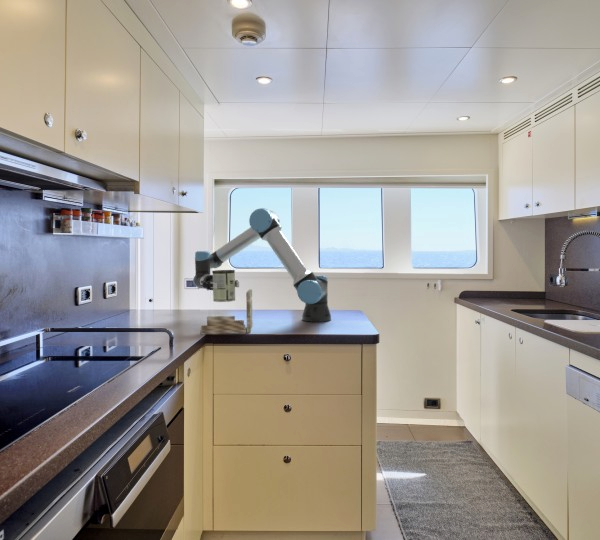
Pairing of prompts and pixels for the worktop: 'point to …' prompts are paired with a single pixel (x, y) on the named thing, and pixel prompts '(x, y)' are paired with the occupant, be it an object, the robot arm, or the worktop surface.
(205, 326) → the offcut stack
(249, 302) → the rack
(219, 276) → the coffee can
